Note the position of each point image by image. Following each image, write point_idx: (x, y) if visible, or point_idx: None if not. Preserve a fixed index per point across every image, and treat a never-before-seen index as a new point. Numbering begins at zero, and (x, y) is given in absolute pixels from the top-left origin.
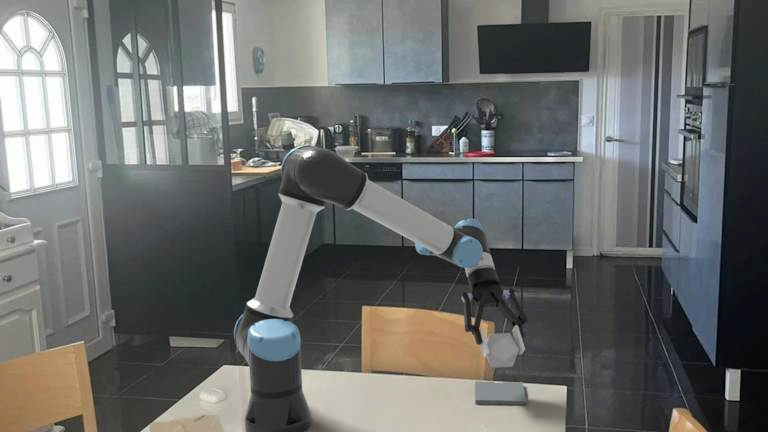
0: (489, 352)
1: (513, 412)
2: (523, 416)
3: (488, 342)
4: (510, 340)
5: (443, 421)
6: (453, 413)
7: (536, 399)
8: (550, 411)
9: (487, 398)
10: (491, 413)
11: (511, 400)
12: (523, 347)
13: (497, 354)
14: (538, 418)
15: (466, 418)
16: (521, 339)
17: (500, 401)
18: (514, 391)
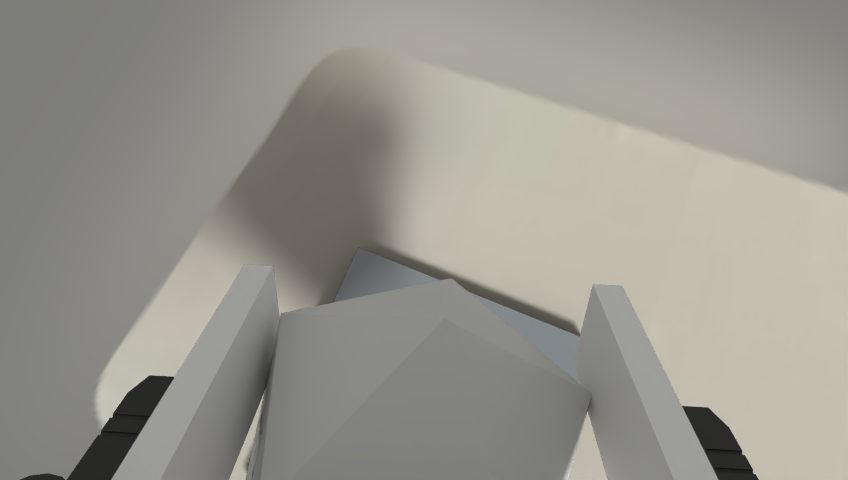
0: (594, 288)
1: (450, 197)
2: (427, 148)
3: (556, 462)
4: (328, 369)
5: (779, 211)
6: (717, 275)
7: (282, 294)
8: (295, 156)
9: (525, 337)
10: (548, 219)
11: (422, 273)
12: (250, 274)
13: (496, 321)
14: (378, 112)
15: (672, 207)
16: (213, 328)
17: (472, 294)
18: None
